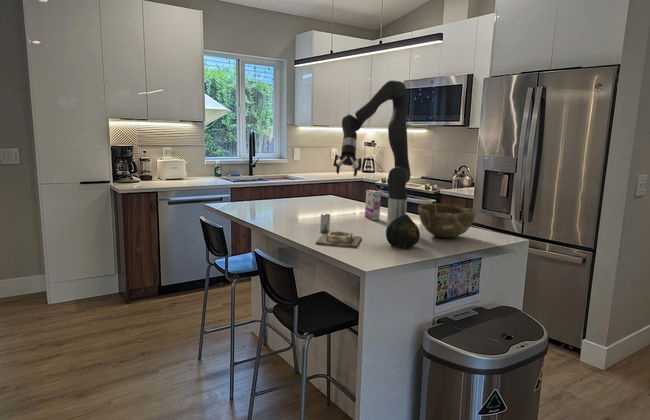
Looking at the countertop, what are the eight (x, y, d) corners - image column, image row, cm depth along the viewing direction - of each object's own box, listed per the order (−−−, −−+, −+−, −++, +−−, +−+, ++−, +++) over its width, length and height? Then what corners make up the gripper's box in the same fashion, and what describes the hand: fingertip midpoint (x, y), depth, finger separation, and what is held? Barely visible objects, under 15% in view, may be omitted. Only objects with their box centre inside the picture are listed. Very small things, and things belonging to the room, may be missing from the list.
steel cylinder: (330, 231, 223) (330, 213, 221) (328, 233, 219) (329, 215, 217) (321, 230, 224) (321, 213, 222) (319, 232, 219) (320, 214, 218)
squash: (388, 239, 189) (411, 212, 190) (375, 232, 203) (396, 207, 204) (410, 259, 193) (432, 233, 194) (395, 252, 207) (416, 227, 209)
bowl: (460, 247, 202) (463, 214, 199) (406, 237, 218) (408, 206, 215) (480, 237, 224) (483, 208, 221) (430, 228, 240) (432, 201, 237)
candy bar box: (379, 220, 257) (381, 192, 254) (371, 220, 255) (373, 192, 252) (372, 216, 267) (373, 189, 264) (364, 217, 266) (365, 189, 263)
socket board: (361, 238, 211) (361, 231, 210) (356, 248, 193) (356, 240, 193) (323, 235, 214) (324, 228, 214) (315, 244, 197) (315, 236, 196)
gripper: (336, 142, 231) (333, 168, 224) (363, 146, 232) (361, 172, 224) (334, 150, 238) (331, 176, 230) (361, 154, 238) (358, 180, 231)
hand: (346, 174), depth 227 cm, fingers open, 8 cm apart
